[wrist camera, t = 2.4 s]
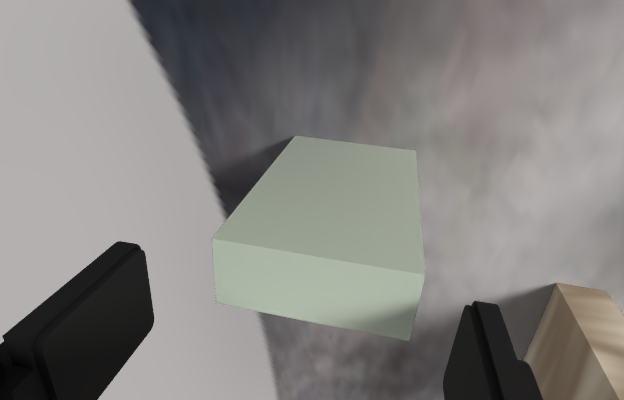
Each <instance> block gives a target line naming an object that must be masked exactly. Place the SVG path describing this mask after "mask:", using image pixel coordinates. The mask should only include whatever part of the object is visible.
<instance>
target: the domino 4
mask: <svg viewBox="0 0 624 400" xmlns="http://www.w3.org/2000/svg"><path fill="white" fill-rule="evenodd" d="M523 361H526V362H527V363H528V364H529V365H530V367H531V369H532V371H533V374H534V377H535V379H536V382H537V384H538V387H539V390H540V392H541V395H542V398H543V400H624V316H623V314H622V313H621V311H620V310H619V309H618V307H617V306H616V304H615V303H614V301H613V300H612V299H611V297H610V296H609V294H608V293H607V291H602V290H596V289H590V288H584V287H578V286H572V285H566V284H560V283H556V285H555V287H554V289H553V292H552V294H551V296H550V299H549V301H548V303H547V306H546V308H545V310H544V313H543V315H542V317H541V320H540V322H539V324H538V327H537V329H536V331H535V334H534V336H533V338H532V341H531V343H530V346H529V348H528V350H527V353H526V355H525V357H524V360H523Z"/></svg>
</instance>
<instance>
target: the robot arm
mask: <svg viewBox="0 0 624 400" xmlns="http://www.w3.org/2000/svg"><path fill="white" fill-rule="evenodd" d="M153 323H154V314H153V307H152V299H151V292H150V285H149V278H148V272H147V264H146V256H145V253H144V251H143V250H141V248H140V246H139V245H137V244H133V243H127V242H116V243H115V244H114V245H112V246H111V247H110V248H109V249H108V250H106V251H105V252H104V253H103V254H102V255H100V256H99V257H98V258H97V259H95V260H94V261H93V262H92V263H91V264H89V265H88V266H87V267H86V268H84V269H83V270H82V271H81V272H80V273H78V274H77V275H76V276H75V277H74V278H72V279H71V280H70V281H69V282H67V283H66V284H65V285H64V286H63V287H61V288H60V289H59V290H58V291H57V292H55V293H54V294H53V295H52V296H50V297H49V298H48V299H47V300H46V301H44V302H43V303H42V304H41V305H40V306H38V307H37V308H36V309H35V310H33V311H32V312H31V313H30V314H29V315H27V316H26V317H25V318H24V319H22V320H21V321H20V322H19V323H18V324H16V325H15V326H14V327H13V328H12V329H10V330H9V331H8V332H7V333H6V334H4V335H3V339H4V342H3V343H1V344H0V400H97V399H98V398H99V396H100V395H101V394H102V393H103V391H104V390H105V389H106V388H107V386H108V385H109V384H110V382H111V381H112V380H113V379H114V377H115V376H116V375H117V373H118V372H119V371H120V370H121V368H122V367H123V366H124V364H125V363H126V362H127V360H128V359H129V358H130V357H131V355H132V354H133V353H134V351H135V350H136V349H137V347H138V346H139V345H140V343H141V342H142V341H143V340H144V338H145V337H146V336H147V334H148V333H149V332H150V330H151V329H152V327H153ZM443 389H444V397H445V400H543V398H542V395H541V392H540V390H539V387H538V384H537V382H536V379H535V377H534V374H533V371H532V369H531V367H530V365H529V364H528V363H527V362H526V361H520V360H517V358H516V355H515V352H514V349H513V346H512V343H511V341H510V338H509V335H508V332H507V329H506V326H505V323H504V321H503V318H502V315H501V312H500V309H499V307H498V305H496V304H491V303H485V302H479V301H474V302H473V304H472V306H470V305H466V306H465V307H464V310H463V314H462V317H461V320H460V324H459V327H458V331H457V334H456V337H455V341H454V344H453V347H452V351H451V354H450V358H449V361H448V364H447V368H446V371H445V375H444V381H443Z"/></svg>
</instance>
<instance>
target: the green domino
mask: <svg viewBox="0 0 624 400" xmlns="http://www.w3.org/2000/svg"><path fill="white" fill-rule="evenodd" d="M212 253H213V269H214V285H215V299H216V303H218V304H223V305H228V306H233V307H238V308H243V309H248V310H253V311H258V312H263V313H269V314H274V315H279V316H284V317H289V318H294V319H299V320H304V321H309V322H314V323H319V324H324V325H329V326H334V327H340V328H345V329H350V330H355V331H360V332H365V333H370V334H375V335H380V336H385V337H390V338H395V339H400V340H405V341H410V338H411V333H412V329H413V325H414V321H415V317H416V312H417V308H418V304H419V300H420V295H421V291H422V287H423V283H424V279H425V264H424V251H423V238H422V225H421V212H420V199H419V186H418V173H417V160H416V151H415V150H407V149H399V148H391V147H383V146H375V145H366V144H358V143H350V142H342V141H334V140H326V139H318V138H310V137H302V136H295V137H294V138H293V139H292V140H291V141H290V143H289V144H288V145H287V146H286V148H285V149H284V150H283V151H282V153H281V154H280V155H279V156H278V157H277V159H276V160H275V161H274V162H273V164H272V165H271V166H270V167H269V168H268V170H267V171H266V172H265V173H264V175H263V176H262V177H261V178H260V180H259V181H258V182H257V183H256V184H255V186H254V187H253V188H252V189H251V191H250V192H249V193H248V194H247V196H246V197H245V198H244V199H243V200H242V202H241V203H240V204H239V205H238V207H237V208H236V209H235V210H234V212H233V213H232V214H231V215H230V216H229V218H228V219H227V220H226V221H225V223H224V224H223V225H222V226H221V228H220V229H219V230H218V231H217V233H216V234H215V235H214V236H213V237H212Z"/></svg>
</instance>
